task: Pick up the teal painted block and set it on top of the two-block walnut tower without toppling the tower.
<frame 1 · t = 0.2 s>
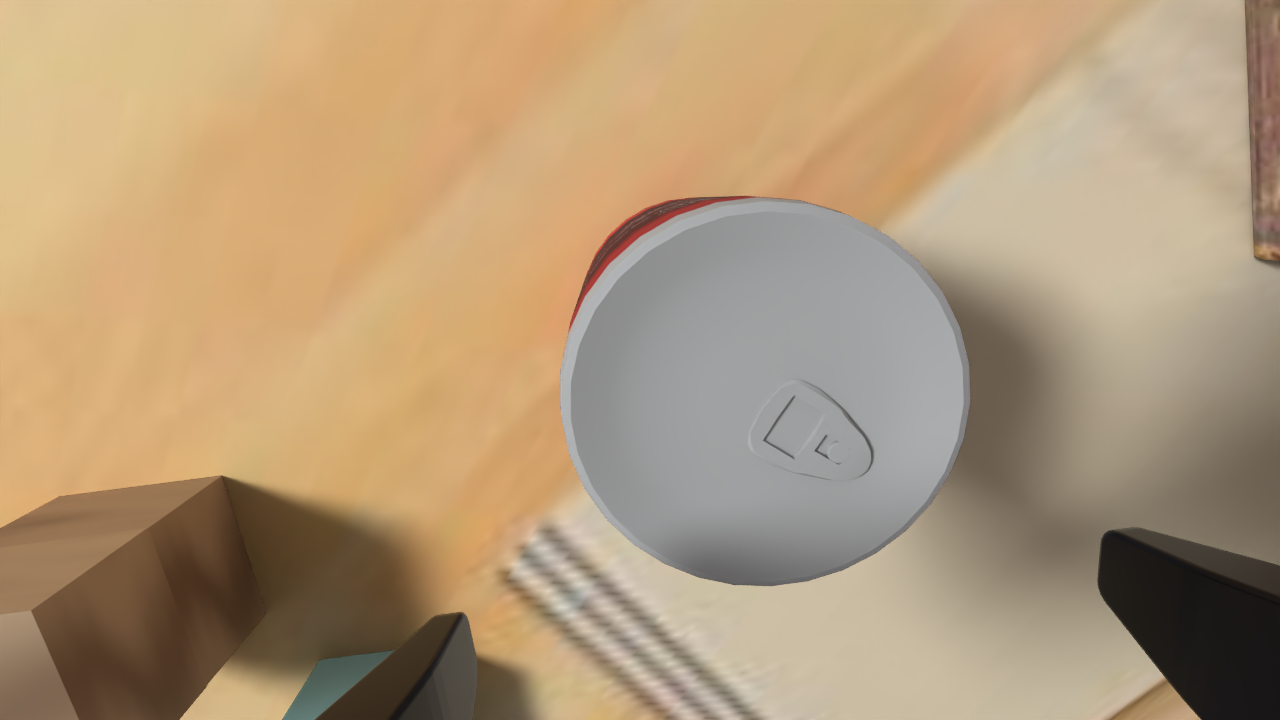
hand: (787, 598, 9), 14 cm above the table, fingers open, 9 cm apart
tower base: (169, 554, 24), on the table, touching tower top
tower top: (85, 622, 20), point 4 cm above the table, touching tower base
canned food: (692, 307, 22), on the table
teal block: (395, 699, 26), on the table
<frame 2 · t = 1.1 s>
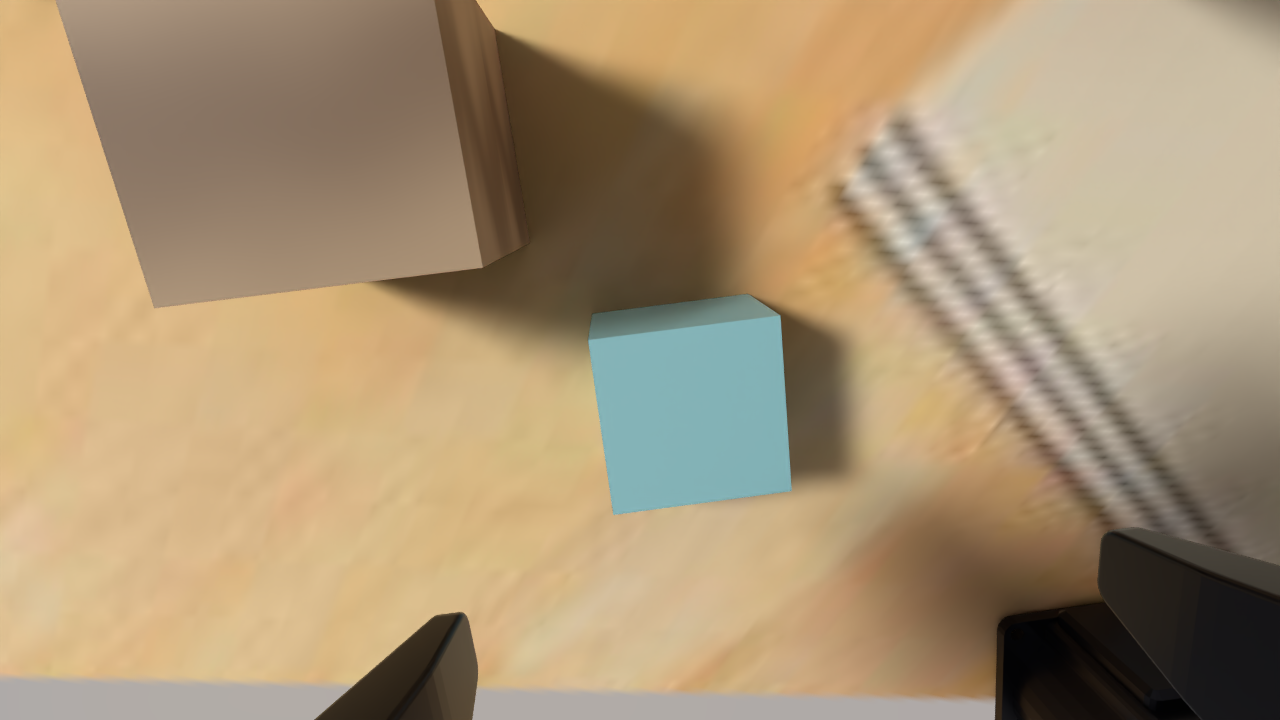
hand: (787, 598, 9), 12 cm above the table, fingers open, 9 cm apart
tower base: (412, 153, 18), on the table, touching tower top
tower top: (365, 137, 14), point 4 cm above the table, touching tower base
teal block: (677, 377, 20), on the table
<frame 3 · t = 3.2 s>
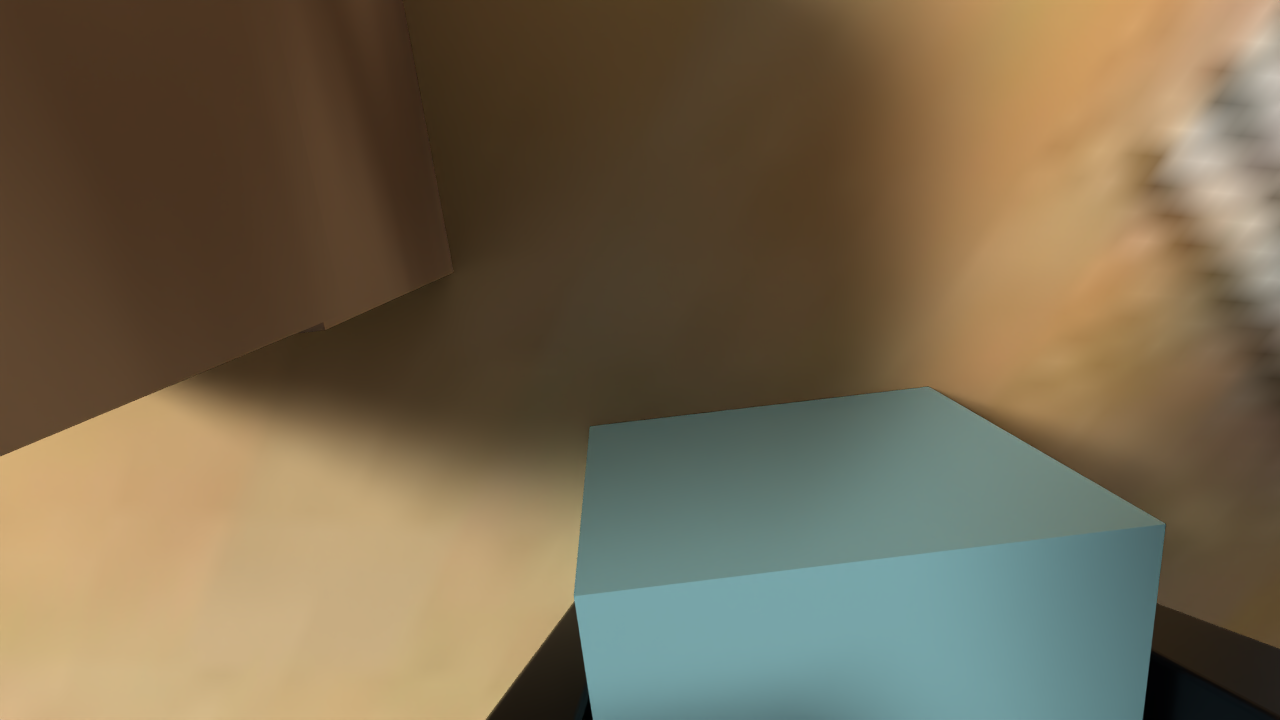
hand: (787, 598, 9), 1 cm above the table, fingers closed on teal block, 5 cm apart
tower base: (170, 58, 8), on the table, touching tower top
teal block: (769, 557, 10), on the table, touching gripper
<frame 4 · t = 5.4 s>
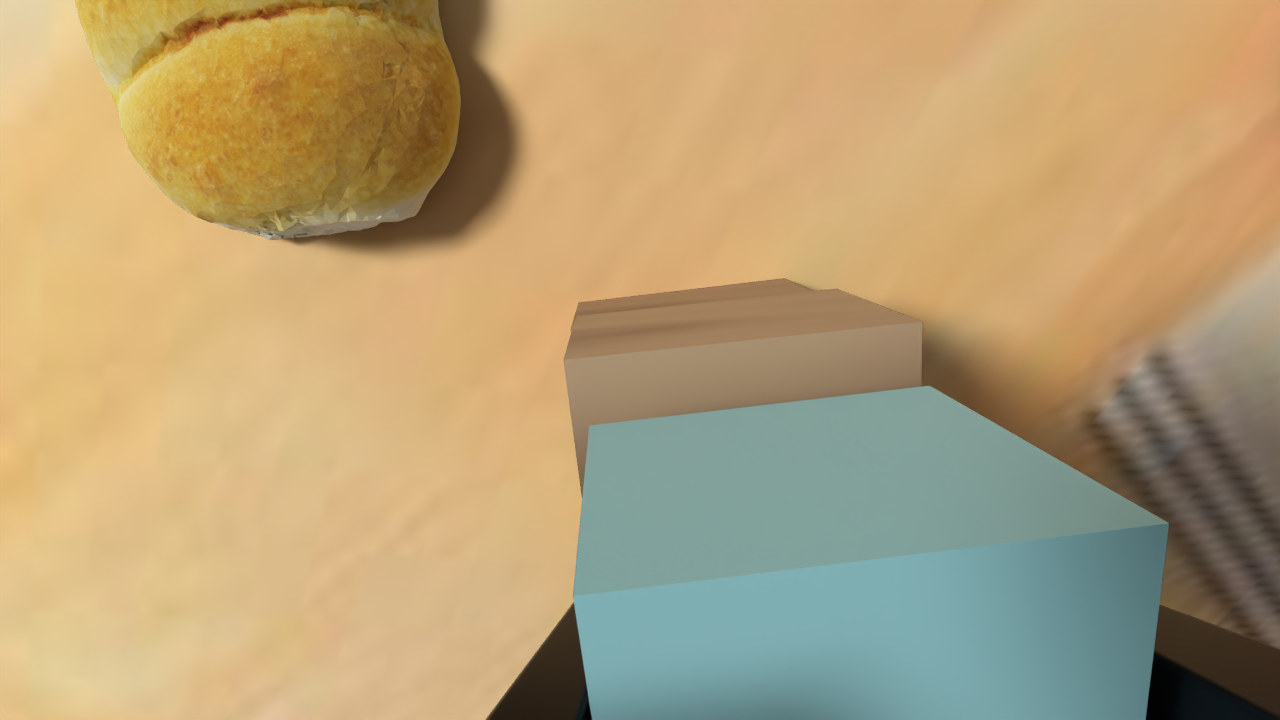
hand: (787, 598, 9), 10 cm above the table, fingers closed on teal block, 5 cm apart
tower base: (690, 387, 19), on the table
tower top: (715, 425, 15), point 4 cm above the table
bread roll: (314, 70, 16), on the table
teal block: (769, 557, 10), point 9 cm above the table, touching gripper
when the fingers open (10 cm above the table, at t = 6.2 s): teal block drops 1 cm, resting on tower top.
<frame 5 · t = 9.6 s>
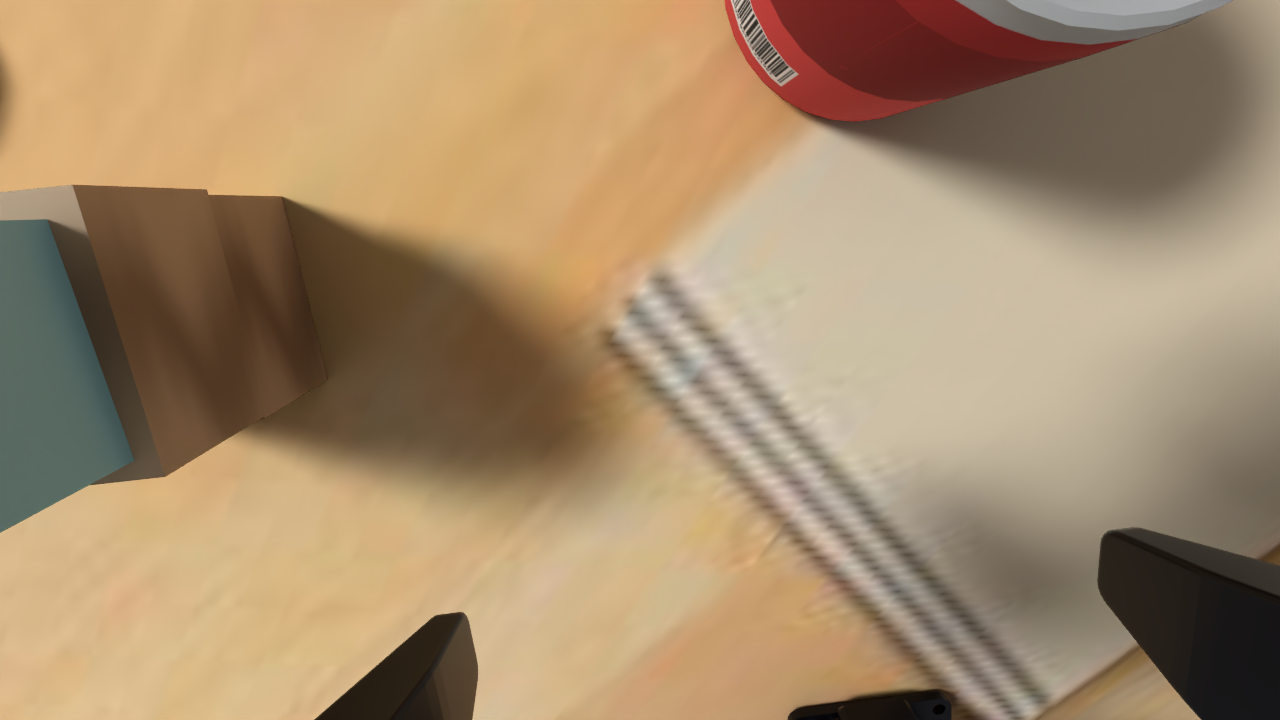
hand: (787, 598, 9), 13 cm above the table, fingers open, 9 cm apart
tower base: (214, 302, 20), on the table, touching tower top
tower top: (123, 319, 16), point 4 cm above the table, touching teal block, tower base
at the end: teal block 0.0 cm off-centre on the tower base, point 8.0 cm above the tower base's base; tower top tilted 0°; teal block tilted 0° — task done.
